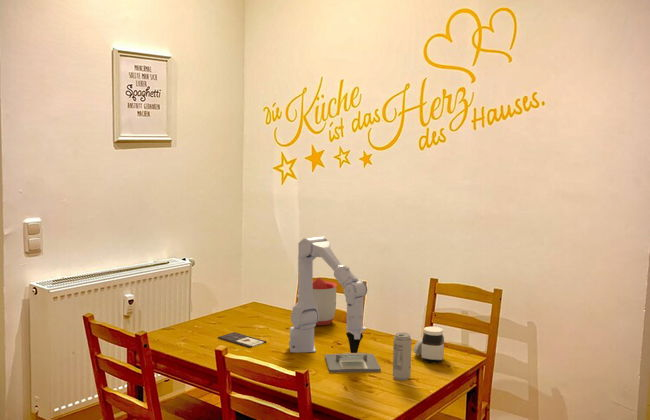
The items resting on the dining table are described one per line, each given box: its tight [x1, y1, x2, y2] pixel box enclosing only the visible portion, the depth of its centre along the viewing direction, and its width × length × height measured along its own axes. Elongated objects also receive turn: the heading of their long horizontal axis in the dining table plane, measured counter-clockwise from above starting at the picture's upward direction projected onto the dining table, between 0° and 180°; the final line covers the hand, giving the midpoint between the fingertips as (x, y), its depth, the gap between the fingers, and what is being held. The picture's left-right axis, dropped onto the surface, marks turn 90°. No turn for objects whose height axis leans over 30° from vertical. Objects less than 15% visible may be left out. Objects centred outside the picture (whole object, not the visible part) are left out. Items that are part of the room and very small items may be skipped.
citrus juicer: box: [296, 277, 338, 326], centre depth 286 cm, size 16×17×20 cm
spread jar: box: [412, 326, 445, 364], centre depth 243 cm, size 12×11×12 cm
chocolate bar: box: [217, 331, 267, 349], centre depth 261 cm, size 9×1×18 cm
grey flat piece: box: [324, 352, 382, 374], centre depth 236 cm, size 18×16×3 cm
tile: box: [341, 352, 366, 358], centre depth 233 cm, size 8×7×1 cm
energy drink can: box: [392, 332, 413, 382], centre depth 222 cm, size 6×6×15 cm
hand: (353, 353), depth 231 cm, fingers closed
